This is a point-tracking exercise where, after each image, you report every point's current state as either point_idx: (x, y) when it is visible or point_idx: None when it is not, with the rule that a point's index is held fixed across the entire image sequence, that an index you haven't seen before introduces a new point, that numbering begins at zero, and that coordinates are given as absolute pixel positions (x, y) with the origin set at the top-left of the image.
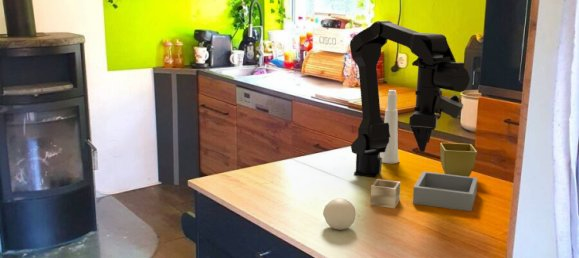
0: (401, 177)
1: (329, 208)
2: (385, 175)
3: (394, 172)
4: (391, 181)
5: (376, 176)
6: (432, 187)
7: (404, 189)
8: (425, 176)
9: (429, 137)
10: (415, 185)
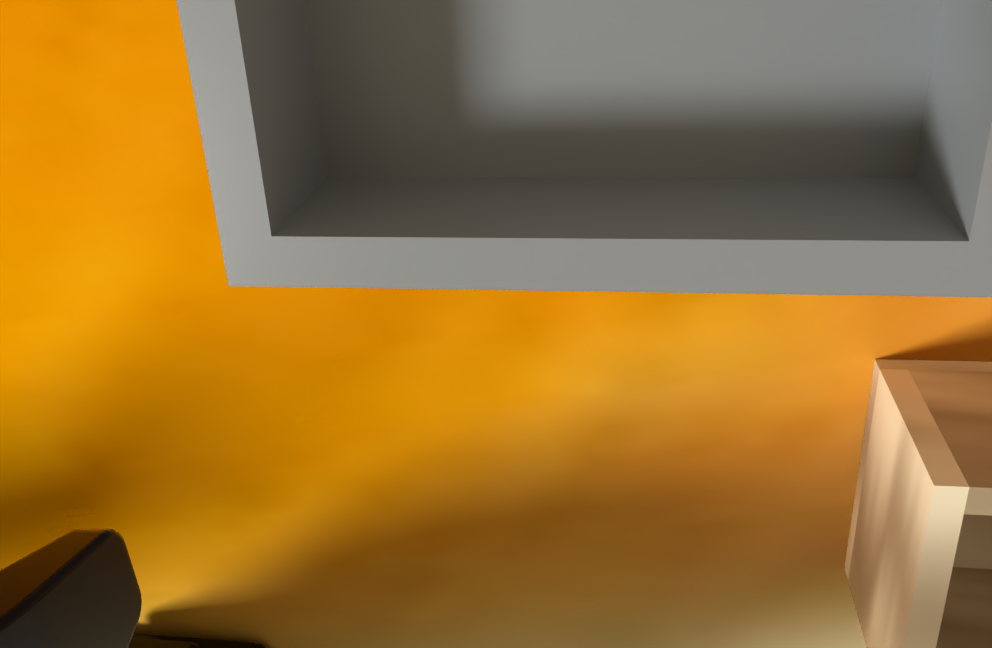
0: (118, 446)
1: None
2: (151, 579)
3: (13, 523)
4: (943, 580)
5: (249, 643)
6: (362, 84)
7: (483, 366)
8: (333, 222)
9: (33, 616)
10: (939, 285)
